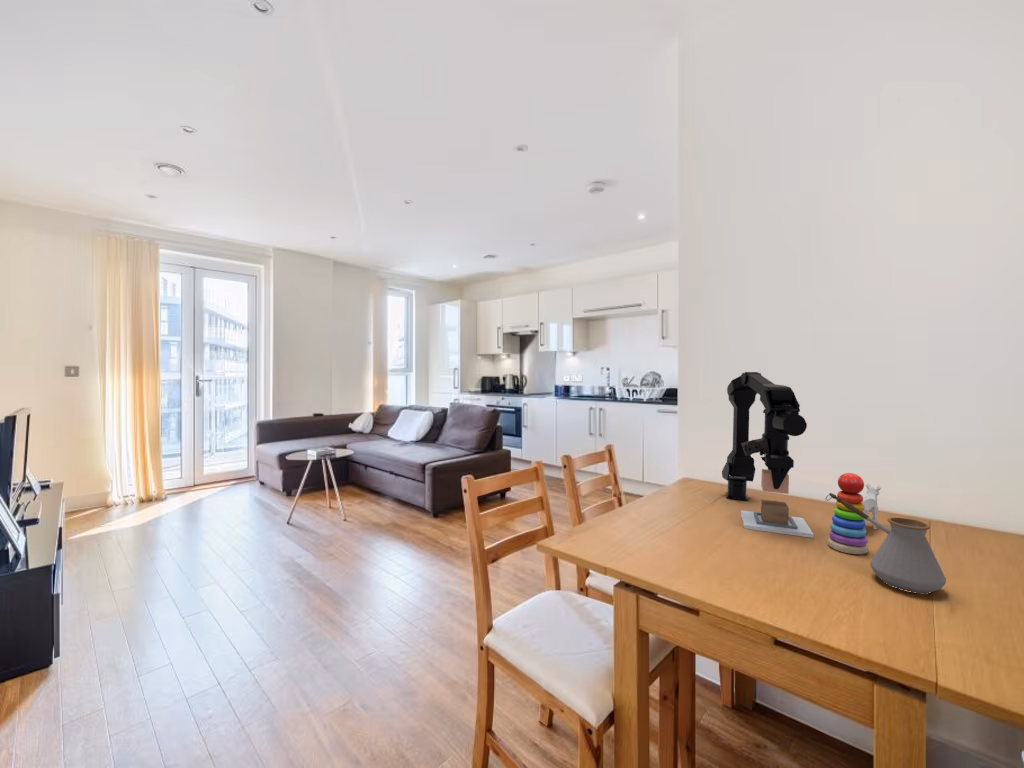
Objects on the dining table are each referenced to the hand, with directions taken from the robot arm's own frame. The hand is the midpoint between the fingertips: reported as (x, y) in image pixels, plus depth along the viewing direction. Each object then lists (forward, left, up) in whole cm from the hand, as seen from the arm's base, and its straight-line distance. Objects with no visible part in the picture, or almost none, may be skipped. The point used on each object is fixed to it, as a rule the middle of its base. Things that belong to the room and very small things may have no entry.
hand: (774, 486), depth 124 cm
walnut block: (0, 0, -10) cm, 10 cm away
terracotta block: (0, 0, -1) cm, 1 cm away
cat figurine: (-5, +21, -11) cm, 25 cm away
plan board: (0, 0, -11) cm, 11 cm away
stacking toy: (+12, +14, -11) cm, 22 cm away
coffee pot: (+26, +16, -11) cm, 33 cm away
